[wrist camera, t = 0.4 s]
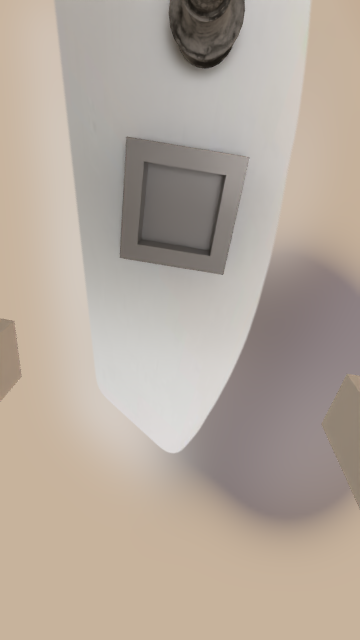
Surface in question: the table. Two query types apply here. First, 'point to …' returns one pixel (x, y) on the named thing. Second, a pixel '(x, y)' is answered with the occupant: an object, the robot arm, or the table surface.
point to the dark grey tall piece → (206, 28)
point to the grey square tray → (179, 204)
